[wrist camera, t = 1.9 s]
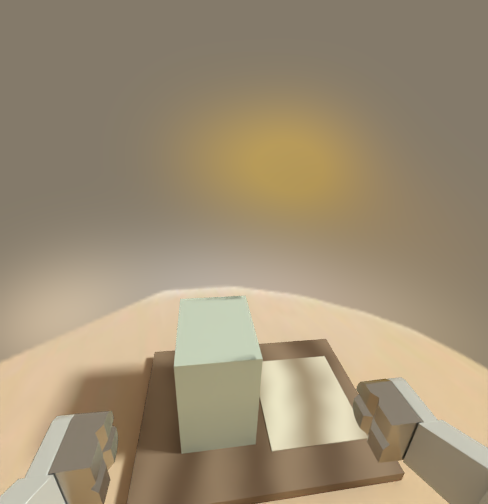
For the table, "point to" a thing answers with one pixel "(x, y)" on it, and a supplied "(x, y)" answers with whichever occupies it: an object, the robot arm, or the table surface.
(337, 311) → the table surface
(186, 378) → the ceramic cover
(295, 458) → the walnut board
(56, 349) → the table surface
